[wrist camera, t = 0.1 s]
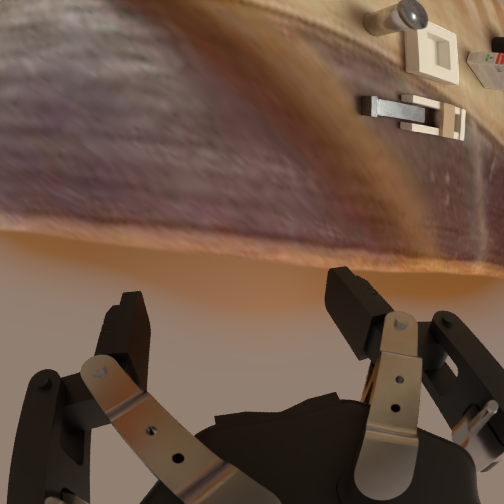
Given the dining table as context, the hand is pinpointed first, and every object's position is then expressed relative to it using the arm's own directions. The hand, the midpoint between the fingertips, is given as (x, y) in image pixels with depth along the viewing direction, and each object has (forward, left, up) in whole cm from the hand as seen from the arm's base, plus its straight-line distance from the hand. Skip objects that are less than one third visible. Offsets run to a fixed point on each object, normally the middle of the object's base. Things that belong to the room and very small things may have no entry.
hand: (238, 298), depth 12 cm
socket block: (-21, +37, -29) cm, 51 cm away
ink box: (-22, +53, -30) cm, 64 cm away
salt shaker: (-23, +26, -29) cm, 45 cm away
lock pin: (-9, +28, -29) cm, 42 cm away
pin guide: (-9, +37, -29) cm, 48 cm away
